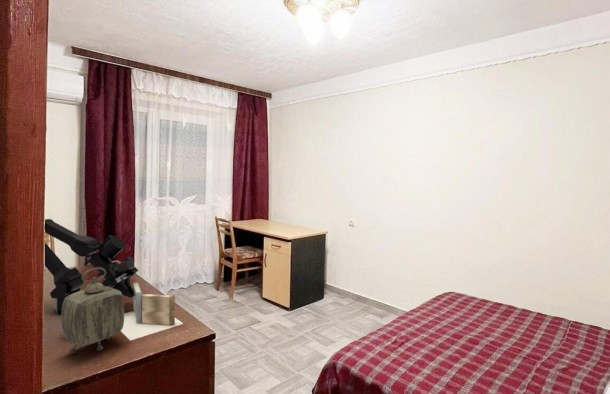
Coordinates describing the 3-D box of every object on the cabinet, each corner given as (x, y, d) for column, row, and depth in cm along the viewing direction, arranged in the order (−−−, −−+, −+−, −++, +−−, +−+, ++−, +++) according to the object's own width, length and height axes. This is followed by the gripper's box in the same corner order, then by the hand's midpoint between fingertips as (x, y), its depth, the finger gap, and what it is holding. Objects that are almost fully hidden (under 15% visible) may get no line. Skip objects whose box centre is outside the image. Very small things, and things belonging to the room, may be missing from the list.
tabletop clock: (111, 335, 111) (110, 260, 110) (128, 343, 107) (127, 265, 105) (62, 355, 99) (59, 271, 97) (78, 365, 94) (76, 276, 93)
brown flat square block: (141, 323, 120) (141, 294, 119) (144, 321, 121) (144, 292, 121) (173, 325, 119) (173, 296, 118) (175, 323, 121) (175, 294, 120)
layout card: (130, 341, 108) (130, 340, 108) (107, 318, 124) (107, 317, 124) (183, 324, 121) (183, 323, 121) (156, 305, 137) (156, 304, 137)
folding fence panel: (142, 322, 120) (142, 293, 120) (136, 323, 119) (136, 294, 118) (138, 307, 133) (138, 281, 132) (132, 308, 131) (132, 282, 131)
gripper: (103, 258, 117) (133, 291, 118) (133, 246, 136) (160, 275, 136) (81, 279, 119) (111, 311, 119) (114, 264, 137) (141, 293, 137)
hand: (133, 296), depth 128 cm, fingers closed
